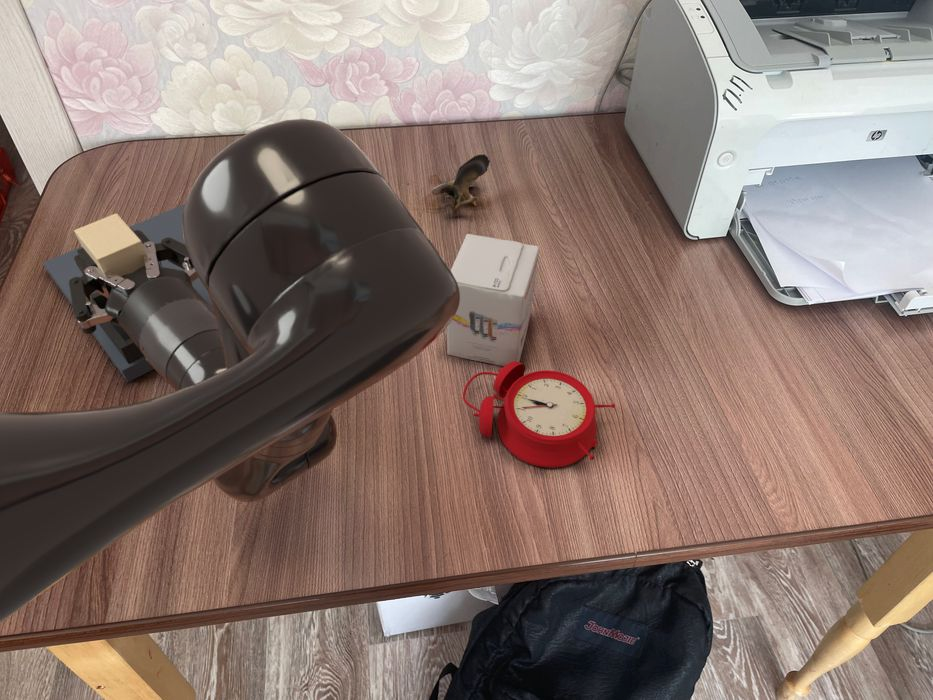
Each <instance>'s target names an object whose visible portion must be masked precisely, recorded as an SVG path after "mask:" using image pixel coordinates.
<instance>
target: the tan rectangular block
mask: <svg viewBox="0 0 933 700" xmlns="http://www.w3.org/2000/svg"><path fill="white" fill-rule="evenodd" d="M129 227H130V226H129V225H128V224H127V223H126V222H125V221H124V220H123V218H121V216H120V215H119V214H118V213H113V214H110V215H108V216H106V217H104V218H101V219H98V220H96V221H94V222H91V223H89V224H86V225H84V226H81V227H79V228H76V229H74V230H73V231H74V234H75V236H76V237H77V240H78V242H79V244H80V247H81V246H82V248H84V249H85V251H86V252H87V253H88V254H89V256H90V257H91V258H92V259H93V261H94V262H95V263H96V265H97V267H98V268H99V269H101V270H102V272H103V273H105V272H106V271H107V270H109V271H111V272H113V273H115V274H117V275H119V276H123V275H126V274H130V273H133V272H134V271H136V270H137V269H139V268H141V267H143V266H145V262H144V257H143V255H144V254H146V251H145V249H144V246H143V244H142V242H141V240H140V239H139V238H138V237H137V236H136V235H135V233H134V232H133V231H132V230H131V229H130V228H129Z"/></svg>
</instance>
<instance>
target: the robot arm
mask: <svg viewBox="0 0 933 700" xmlns="http://www.w3.org/2000/svg"><path fill="white" fill-rule="evenodd" d="M184 204H185V207H184V212H183V219H182V230H183V238H184V241H185V245H184V244H182V243H180V242H178V241H176V240H174V239H172V238H169V237H168V238H164V239H163V240H162V241H161V243H158V244H155V243H153V242H151V241H150V240H149V239H148V238H147V237H146V236H145V235H144V234H143V232H142V231H139V230H136V231H134V230H133V229H132V228H130V229H131V230H132V231H133V232H134V233H135V235H136V236H137V237H138V238H139V239H140V240H141V242H142V244H143V246H144V249H145V251H146V254H144V255H143V257H144V262H145V266H143V267H141V268H139V269H137V270H136V271H134V272H133V273H130V274H126V275H123V276H119V275H117V274H115V273H113V272H111V271H109V270H107V271H106V272H105V273H103V272H102V270H101V269H99V268H98V267H97V265H96V263H95V262H94V261H93V259H92V258H91V257H90V256H89V254H88V253H87V252H86V251H85V249H84V248H80V249H78V250H77V252H78V254H79V255H76V256H74V260H75V262H76V264H77V266H78V268H79V270H80V271H81V272H82V274H83V276H82V277H74V278H72V279H70V280H69V287H70V293H71V300H72V305H71V306H72V313H73V316H74V318H75V319H76V321H77V323H78V325H79V326H80V329H81V330H82V332H83V334H85V335H91V334H92V333H93V332H94V331H96V325H98V324H101V323H105V322H108V321H111V322H112V323H113V324H116V325H119V326H121V327H122V328H123V329H124V330H125V331H126V333H127V334H128V335H129V337H130V338H131V339H132V341H133V342H134V343H135V344H136V346H137V347H138V348H139V350H140V351H141V352H142V354H143V355H144V356H145V357H146V361H147V362H148V363H149V364H150V365H151V366H152V367H153V368H154V369H153V370H155V372H157V374H158V375H159V376H160V377H161V378H163V379H164V380H165V381H166V382H167V383H169V385H170V386H171V388H172V389H173V390H174V391H172V392H169V393H166V394H163V395H160V396H156V397H154V398H151V399H147V400H144V401H138V402H133V403H127V404H121V405H120V404H119V405H114V406H106V407H98V408H97V407H96V408H90V409H89V408H88V409H72V410H57V411H56V410H51V411H50V410H49V411H46V410H45V411H43V410H42V411H0V624H1V623H3V622H4V621H6V620H7V619H8V618H10V617H11V616H13V615H14V614H15V613H17V612H18V611H20V610H21V609H22V608H24V607H25V606H27V605H28V604H30V603H31V602H32V601H34V600H35V599H36V598H38V597H39V596H41V595H42V594H44V593H45V592H46V591H48V590H49V589H51V588H52V587H53V586H55V585H56V584H57V583H59V582H61V581H62V580H64V578H66V577H68V576H70V574H72V573H73V572H75V571H76V570H77V569H79V568H81V567H82V566H83V565H84V564H86V563H87V562H89V561H90V560H92V559H93V558H94V557H96V556H97V555H99V554H100V553H101V552H103V551H105V550H106V549H107V548H109V547H110V546H112V545H113V544H115V543H116V542H118V541H119V540H120V539H123V538H124V537H125V536H127V535H128V534H129V533H131V532H132V531H134V530H135V529H137V528H138V527H141V525H143V524H145V523H146V522H147V521H150V519H152V518H153V517H155V516H156V515H159V514H160V513H162V512H163V511H165V510H166V509H168V508H170V507H171V506H172V505H173V504H175V503H177V502H178V501H180V500H182V499H184V498H185V497H187V496H188V495H190V494H192V493H193V492H195V491H196V490H198V489H201V488H202V487H203V486H205V485H206V484H208V483H210V482H212V481H213V482H214V484H215V485H216V487H217V488H218V489H219V490H220V491H221V492H222V493H223V494H224V495H225V496H227V497H229V498H230V499H231V500H232V499H233V500H235V501H238V502H242V503H255V502H259V501H262V500H264V499H265V498H267V497H269V496H271V495H272V494H274V493H275V492H277V491H279V490H280V489H281V488H283V487H285V486H286V485H288V484H290V482H293V481H294V480H295V479H297V478H298V477H300V476H301V475H303V474H305V473H306V472H308V471H309V470H311V469H312V468H314V467H315V466H317V465H318V464H320V463H322V462H323V461H324V460H326V459H327V458H328V457H329V456H330V455H331V454H332V452H333V451H334V450H335V447H336V445H337V437H338V432H337V431H338V430H337V425H336V422H335V419H334V417H333V415H332V414H333V410H334V409H336V408H337V407H339V406H341V405H343V404H345V403H346V402H348V401H349V400H351V399H352V398H354V397H356V396H357V395H359V394H361V393H362V392H364V391H366V390H367V389H369V388H370V387H373V386H374V385H375V384H377V383H379V382H381V381H382V380H383V379H385V378H387V377H388V376H390V375H392V374H393V373H395V372H396V371H397V370H398V369H401V367H403V366H405V365H406V364H407V363H409V362H410V361H411V360H412V359H415V357H417V356H418V355H419V354H421V353H422V352H423V351H424V350H426V348H427V347H429V345H431V344H432V343H433V342H434V341H435V340H436V339H437V338H438V337H439V336H441V334H442V333H443V332H444V331H445V330H447V329H446V328H447V326H448V325H449V323H450V322H451V321H452V319H453V317H454V316H455V314H456V312H457V309H458V307H459V303H460V291H459V285H458V283H457V281H456V279H455V277H454V275H453V273H452V272H451V268H450V267H449V266H448V264H447V263H446V261H445V260H444V258H443V256H442V255H441V254H440V253H439V251H438V249H437V248H436V247H435V245H434V244H433V243H432V241H431V240H430V239H429V238H428V237H427V236H426V234H425V231H424V230H423V228H422V227H421V226H420V225H419V223H418V222H417V221H416V219H415V218H414V216H413V215H412V214H411V212H410V211H409V210H408V208H407V207H406V206H405V204H404V203H403V201H402V200H401V199H400V197H399V196H398V195H397V193H396V192H395V190H394V189H393V188H392V187H391V185H390V184H389V182H388V181H387V180H386V179H385V177H384V176H383V175H382V174H381V172H380V170H379V169H378V168H377V166H376V165H375V164H374V162H373V161H372V160H371V159H370V158H369V156H368V155H367V154H366V152H365V151H363V149H362V148H361V147H359V145H358V144H357V143H356V142H354V141H353V139H351V138H350V137H349V136H347V134H345V133H344V132H343V131H342V130H340V129H339V128H337V127H335V126H333V125H331V124H329V123H326V122H324V121H322V120H315V119H309V118H294V119H285V120H282V121H278V122H273V123H270V124H267V125H264V126H262V127H259V128H257V129H254V130H252V131H249V132H248V133H246V134H244V135H243V136H241V137H239V138H238V139H236V140H235V141H233V142H231V143H230V144H228V145H227V146H226V147H225V148H223V149H222V150H221V151H220V152H219V153H217V154H216V155H215V156H214V157H213V158H211V160H210V161H209V162H208V163H207V165H206V166H205V167H204V168H203V169H202V170H201V172H200V173H199V175H198V176H197V178H196V179H195V181H194V183H193V185H192V187H191V188H190V190H189V193H188V194H187V197H186V200H185V203H184ZM164 260H168V261H169V262H171V263H173V264H175V265H177V266H179V267H180V268H182V269H184V271H181V270H175V269H170V268H164V267H162V263H161V261H164ZM198 277H199V279H200V280H201V282H202V284H203V285H204V287H205V288H206V289H207V292H208V295H209V298H210V301H211V304H212V307H213V309H212V308H211V306H210V305H209V304H208V303H207V302H206V301H205V300H204V299H203V298H202V297H201V295H200V294H199V293H198V292H197V291H196V290H195V289H194V288H193V287H192V282H193V281H194V280H196V279H197V278H198ZM95 291H96V292H97V293H99V294H101V295H103V296H105V297H106V298H107V299H108V300H107V303H106V306H105V309H100V308H98V306H97V305H95V304H92V300H91V296H90V295H91V294H92V293H93V292H95Z"/></svg>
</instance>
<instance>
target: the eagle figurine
mask: <svg viewBox="0 0 933 700" xmlns="http://www.w3.org/2000/svg"><path fill="white" fill-rule="evenodd" d="M490 162H491V160H489V157H488V156H487V154H485V153H483V154H482V153H479V154H476V155H473V157H471V158H470V159H469V160H467V161H466V162H464V163H463V164H462V165H460V167H458V168H457V170H456V175H455V179H452V180H448V181H447V182H443V183H441V184H439V185H437V186H435V187H433V188H432V189H431V194H432V195H433V196H440V195H442V194H447V195H446V196H445V198H446V199H449V201H450V203H444V204H443V206H444V208H447V207H448V208H450V209H451V211H450V218H454V216H455V215H456V214H457V215H458V213H459V212H460V209H461V208H462V207H463V206H465V205H468V204H472V205H474V206H475V207H476V206H477V203H476V200H477V199H478V196H473V195H472V194H471V193H470V190H469V188H471V187H472V188H473V187H476V184H473V183H474V182H475V181H477V180H478V179H479V178H480V177H481V176H483V175H485V173H486V172H487V171H488V169H489V166H490Z"/></svg>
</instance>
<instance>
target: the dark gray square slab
mask: <svg viewBox="0 0 933 700" xmlns="http://www.w3.org/2000/svg"><path fill="white" fill-rule="evenodd" d="M184 207H185V203H183V204H181V205H179V206H176V207H173V208H172V209H169V210H166V211H164V212H162V213H159V214H157V215H155V216H152V217H150V218H147V219H145V220H143V221H140V222H138V223H137V222H136V223H135V224H132V225H130V226H128V227H129V228H132V229H133V230H134V231H136V230H139V231H142V232H143V234H144V235H145V236H146V237H147V238H148V239H149V240H150V241H151V242H153V243H155V244H158V243H161V241H162V240H163V239H164V238H168V237H169V238H172V239H174V240H176V241H178V242H180V243H182V244H184V245H185V241H184V238H183V230H182V219H183V212H184ZM80 248H82V246H81V245H80V246H79V247H76V248H74V249H72V250H70V251H67V252H65V253H62V254H60V255H58V256H55V257H52V258H50V259H47V260H45V261H43V262H42V264H43V266H44V267H45V269H46V272H48V275H49V276H50V278H51V279H52V280H53V281H54V283H55V285H56V286H57V287H58V288H59V290H60V292H62V294H63V295H64V296H65V298H66V300H67V301H68V302H69V303H70V305H71V306H72V300H71V293H70V287H69V280H70V279H72V278H74V277H82V276H83V274H82V272H81V271H80V270H79V268H78V266H77V264H76V262H75V260H74V256H76V255H79V254H78V252H77V250H78V249H80ZM161 263H162V267H164V268H170V269H175V270H181V271H184V269H182V268H180V267H179V266H177V265H175V264H173V263H171V262H169V261H168V260H164V261H161ZM192 287H193V288H194V289H195V290H196V291H197V292H198V293H199V294H200V295H201V297H202V298H203V299H204V300H205V301H206V302H207V303H208V304H209V305H210V306H211V308H212V309H213V307H212V304H211V301H210V298H209V295H208V292H207V289H206V288H205V287H204V285H203V284H202V282H201V280H200V279H199V277H198V278H197V279H196V280H194V281H193V282H192ZM90 296H91V300H92V304H95V305H97V306H98V308H100V309H105V306H106V303H107V300H108V299H107V298H106V297H105V296H103V295H101V294H99V293H97V292H96V291H95V292H93V293H92V294H91V295H90ZM91 334H92V335H93V337H94V338H95V339H96V341H97V342H98V344H99V345H100V346H101V348H102V349H103V351H104V352H105V353H106V354H107V356H108V358H109V359H110V360H111V362H112V363H113V364H114V365H115V367H116V368H117V370H118V371H119V373H120V374H121V375H122V376H123V378H124V380H125V381H126V382H127V383H130V382H132V381H134V380H136V379H137V378H140V377H141V376H143V375H146V374H147V373H150V372H151V371H153V370H155V369H154V368H153V367H152V366H151V365H150V364H149V363H148V362H147V361H146V357H145V356H144V355H143V354H142V352H141V351H140V350H139V348H138V347H137V346H136V344H135V343H134V342H133V341H132V339H131V338H130V337H129V335H128V334H127V333H126V331H125V330H124V329H123V328H122V327H121V326H119V325H116V324H113V323H112V322H111V321H108V322H105V323H101V324H98V325H96V331H94V332H93V333H91Z"/></svg>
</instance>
